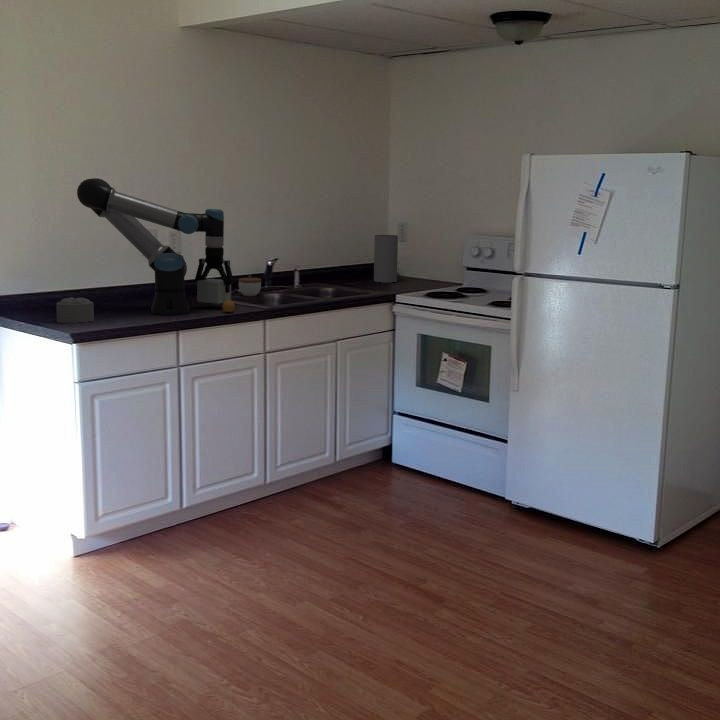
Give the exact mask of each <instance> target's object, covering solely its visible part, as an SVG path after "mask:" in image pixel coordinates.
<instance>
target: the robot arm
mask: <svg viewBox="0 0 720 720" xmlns="http://www.w3.org/2000/svg"><path fill="white" fill-rule="evenodd" d="M76 196H77V198H78V199H77V200H78V201H79V202H80V204H82V206H84V207H86V208H88V209H91V210H92V212H94V214H96V215H97V216H98V218H105V219H106V220H107V221H108V222H109V223H110V224H111V225H112V226H113V227H114V228H115V229H116V230H117V231H119V233H120V234H121V235H122V236H123V237H124V238H125V239H127V241H128V242H129V243H130V244H131V245H133V246H134V247H135V248H136V249H137V250H138V251H139V253H141V254H142V256H144V257H145V258H146V259H147V261H148V263H147V264H148V266H149V268H151V270H152V271H154V291H155V292H154V297H153V301H152V305H151V308H150V310H151V314H154V315H162V316H163V315H164V316H165V315H167V316H168V315H169V316H174V315H185V314H188V313H190V305H189V302H188V299H187V296H186V293H185V292H186V291H185V290H186V289H185V276H186V274H187V271H188V270H187V269H188V268H187V267H188V266H187V263H186V261H185V257H184V255H183V254H180V253H176V251H175V250H174V249H173V248H172V247H171V246H169V245H164V244H162V243H161V242H160V241H159V240H158V239H157V238H156V237H155V236H154V235H153V233H152V232H151V231H149V230H148V229H147V227H145V226H144V225H143V224H142V222H140V221H139V220H143V221H146V222H148V223H151V224H152V223H153V224H155V225H156V224H157V225H159V226H162V227H166V228H168V229H171V230H176V231H178V232H182V233H183V234H187V235H191V234H194V233H198V232H199V233H200V232H201V233H204V235H205V237H204V239H205V241H204V243H205V244H204V245H205V246H206V247H205V249H204V250H205V251H204V252H205V258H202V257H200V258H199V259H198V266H197V270H196V274H195V278H194V282H197V281H199V280H205V279H207V277H208V275H209V273H210V271H211V270H217V272H218V273H219V275H220V277H221V280H223V282H224V284H225V285H223V301H227V300H228V293H229V292H230V284H231V285H233V284H235V281H234V275H233V274H232V268H231V260H229V259H228V260H225V259H224V255H225V254H224V253H225V252H224V249H225V248H224V240H225V239H224V236H225V235H224V234H225V216H224V215H225V213H224V210H223V209H217V208H206V210H205V213H195V212H194V213H192V212H184V211H183V212H182V211H179V210H177V209H173V208H170V207H168V206H164V205H160V204H157V203H154V202H152V201H147V200H144V199H141V198H137V197H135V196H133V195H132V196H131V195H128V194H125V193H123V192H119V191H116V189H115V188H114V187H111V185H110V184H109V183H108V182H107V181H106V180H104V179H101V178H95V177H93V178H86V179H85V180H83V181H81V182H80V184H78V187H77V189H76ZM205 264H206V265H205ZM223 265H224V266H223Z"/></svg>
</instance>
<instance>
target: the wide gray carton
mask: <svg viewBox="0 0 720 720" xmlns="http://www.w3.org/2000/svg"><path fill="white" fill-rule="evenodd" d="M196 283H197V284H196V285H197V286H196V291H197V292H196V295H197V297H196V299H197V300H196V301H197V302H198V303H209V304H210V303H211V304H223V303H224V302H225V301H223V285H225V284H224V282H223V280H222V279H219V278H218V279H216V278H206V279H205V280H199V281H196ZM228 300H230V301H232V284H230V292H229V293H228ZM228 300H227V301H228Z"/></svg>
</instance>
